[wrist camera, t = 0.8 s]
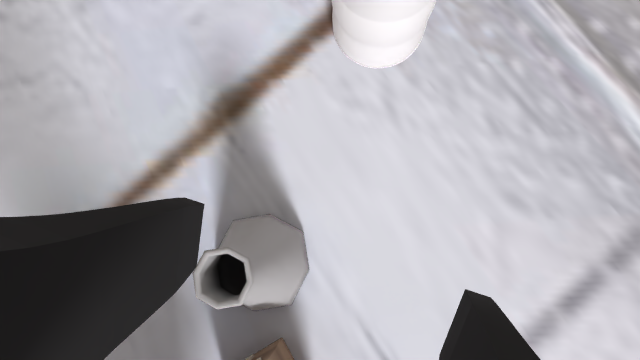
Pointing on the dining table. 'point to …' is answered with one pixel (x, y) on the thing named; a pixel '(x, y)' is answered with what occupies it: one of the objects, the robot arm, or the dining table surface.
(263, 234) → the flask
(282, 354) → the lettered block
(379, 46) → the water bottle
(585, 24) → the dining table surface
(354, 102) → the dining table surface
